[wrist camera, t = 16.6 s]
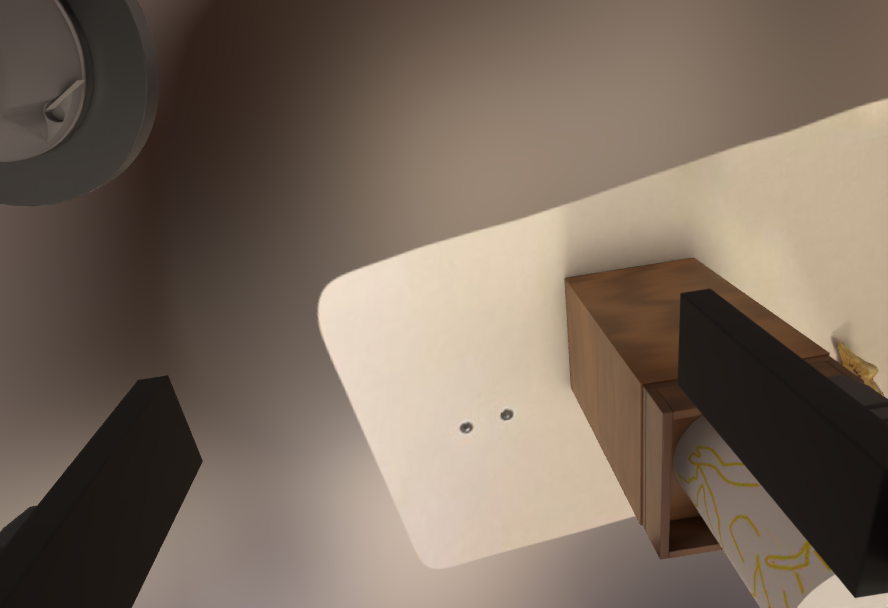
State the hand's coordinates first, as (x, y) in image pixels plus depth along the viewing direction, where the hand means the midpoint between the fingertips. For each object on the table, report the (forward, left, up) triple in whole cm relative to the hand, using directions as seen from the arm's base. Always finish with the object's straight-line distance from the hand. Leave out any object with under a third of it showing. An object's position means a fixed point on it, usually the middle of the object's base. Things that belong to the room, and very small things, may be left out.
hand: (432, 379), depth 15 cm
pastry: (+40, -28, -35) cm, 60 cm away
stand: (+18, -19, -35) cm, 43 cm away
